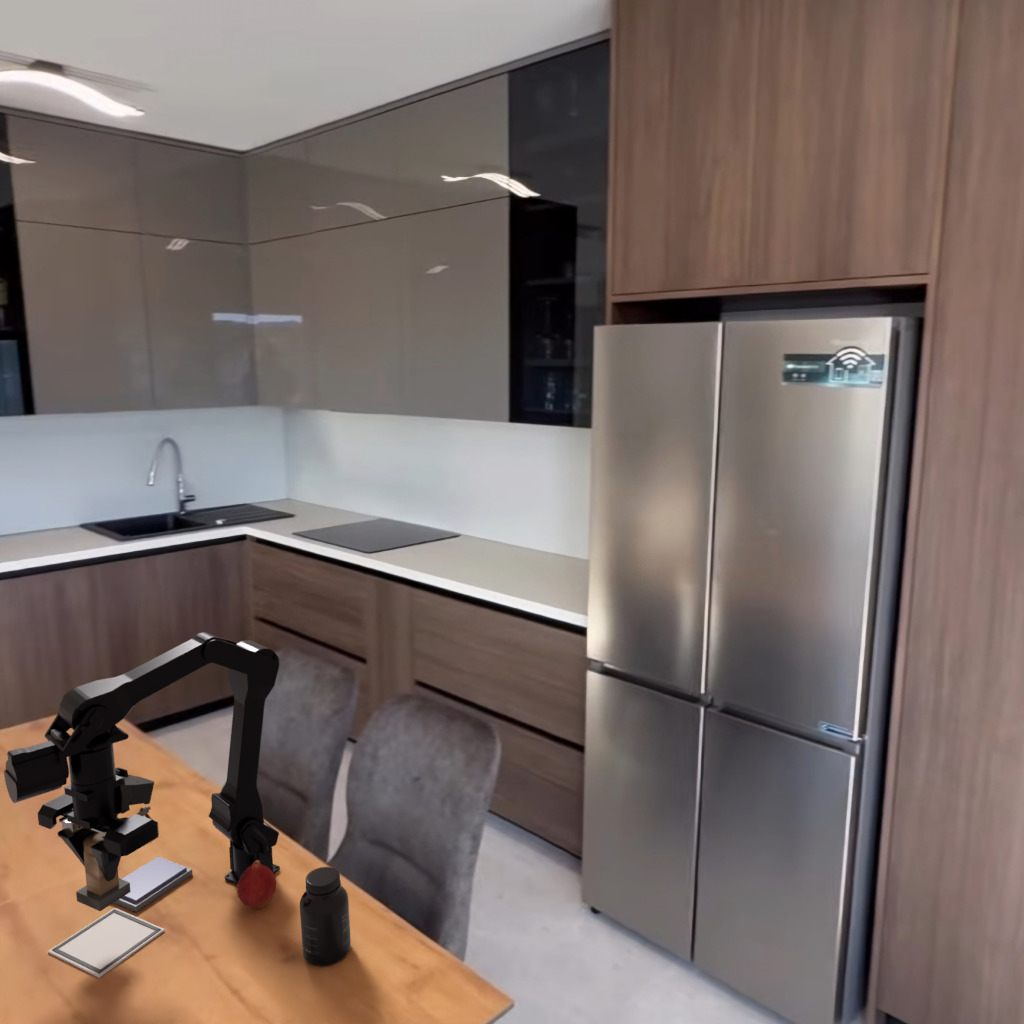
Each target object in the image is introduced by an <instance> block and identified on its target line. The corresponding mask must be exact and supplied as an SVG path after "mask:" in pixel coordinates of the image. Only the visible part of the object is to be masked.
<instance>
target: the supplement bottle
mask: <svg viewBox="0 0 1024 1024" xmlns="http://www.w3.org/2000/svg"><path fill="white" fill-rule="evenodd" d="M340 874H341V873H340V871H339V870H338V869H337V868H334V867H331V866H322V867H321V866H320V867H316V868H315V869H313V870H311V871H310V872H308V873H307V875H306V877H305V891H304V893H303V894H302V896H301V897H300V900H299V913H300V931H301V945H302V946H301V947H302V954H303V958H304V959H305V961H306V962H308V964H310V965H312V966H315V967H329V966H333V965H335V964H337V963H339V962H341V961H342V960H344V959H345V958H346V956H347V955H348V954H349V952H350V950H351V947H352V945H351V943H352V942H351V926H350V922H351V921H350V905H349V904H350V903H349V895H348V894H349V893H348V892H347V890H346V889H345V888H344V886H342V883H341V876H340Z"/></svg>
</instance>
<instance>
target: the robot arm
mask: <svg viewBox="0 0 1024 1024" xmlns="http://www.w3.org/2000/svg"><path fill="white" fill-rule="evenodd" d="M210 664H215V665H219V666H221V667H225V668H227V674H228V675H227V676H228V680H229V684H230V687H231V691H232V694H233V699H234V700H233V709H232V720H231V721H232V722H231V731H230V741H229V751H228V763H227V770H226V771H227V773H226V782H225V785H224V786H223V787H222V789H221V790H220V792H219V793H218V792H215V793H212V794H211V798H210V799H211V808H210V812H209V813H208V818H209V819H211V820H212V822H211V823H212V825H213V827H214V828H216V829H217V830H218V831H219V832H221V834H222V835H224V836H225V837H226V838H227V839H229V845H230V846H229V847H228V850H229V866H230V870H231V871H229V872H228V873H227V874H225V875H224V880H225V881H228V882H231V883H232V884H233V883H234V884H236V885H238V881H239V878H240V877H241V875H242V874H243V872H244V871H245V870H246V869H247V868H248V867H249V866H251V865H252V864H253V863H254V862H255V861H256V860H259V861H260V864H262V865H265V866H267V867H268V868H269V869H270V870H271V871H272V872H273V873H274V875H275V874H276V873H278V872H280V870H281V867H280V865H278V864H275V863H274V861H273V858H274V857H273V847H275V846H276V845H277V842H278V838H279V835H280V832H279V831H277V830H276V829H275V828H274V827H272V826H271V825H270V824H269V823H267V822H266V821H265V816H264V805H263V800H262V798H261V795H260V792H259V789H258V779H259V768H260V758H261V747H262V736H263V728H264V727H263V725H264V715H265V705H266V700H267V698H268V696H269V695H270V694H271V692H272V690H273V688H274V687H275V686H276V681H277V677H278V674H279V669H280V657H279V655H278V654H277V653H276V652H275V651H274V650H272V649H271V648H269V647H267V646H264V645H261V644H259V643H258V642H256V641H253V640H250V639H246V640H240V641H239V642H237V641H234V640H233V641H232V640H230V639H226V638H223V637H220V636H216V635H213V634H212V633H210V632H207V631H205V632H204V631H203V632H199V633H197V634H195V635H194V636H193V637H192V638H190V639H189V640H186V641H185V642H183V643H181V644H179V645H177V646H176V647H173V648H172V649H170V650H168V651H166V652H164V653H162V654H160V655H157V656H156V657H154V658H153V659H151V660H149V661H146V662H144V663H142V664H141V665H138V666H136V667H134V668H132V669H131V670H129V671H127V672H125V673H122V674H121V675H117V676H115V677H108V678H102V679H97V680H94V681H90V682H88V683H85V684H82V685H79V686H76V687H74V688H72V689H70V690H69V691H67V692H66V693H65V694H64V695H63V696H62V699H61V702H60V704H59V708H58V710H59V711H58V712H57V714H56V716H55V718H54V719H53V721H52V722H51V724H50V726H49V727H48V729H47V731H46V732H45V733H44V738H45V739H46V740H47V741H45V742H41V743H37V744H34V745H31V746H27V747H21V748H19V747H18V748H15V749H12V750H9V751H7V760H6V761H5V770H3V775H4V782H5V786H6V787H5V788H6V791H7V793H8V796H9V799H10V800H11V802H12V803H13V804H16V803H18V802H23V801H26V800H28V799H31V798H35V797H37V796H41V795H44V794H47V793H49V792H53V791H56V790H60V789H61V788H62V787H63V786H65V785H67V780H68V778H69V777H70V779H69V780H70V784H69V785H67V786H65V787H63V788H64V789H63V790H64V793H63V794H62V795H59V796H58V797H55V798H54V799H51V800H49V801H48V802H45V803H43V804H42V805H41V807H40V808H39V811H38V812H37V821H38V826H40V827H44V828H46V829H49V830H51V829H53V828H55V827H56V825H57V824H58V822H59V823H61V829H60V830H59V831H58V832H57V837H59V838H61V840H62V841H63V842H64V844H65V845H67V847H68V848H69V849H70V850H71V851H72V853H73V854H74V855H75V857H77V859H78V860H79V862H80V863H81V864H82V865H83V867H84V868H85V863H84V845H83V841H84V840H85V839H86V838H87V837H88V836H90V835H92V834H94V833H101V834H104V836H103V837H102V841H100V842H98V843H96V844H95V845H93V846H91V850H92V852H93V854H94V856H95V858H96V860H97V862H98V865H99V867H100V869H101V871H102V873H103V875H104V877H105V879H106V880H107V881H111V880H112V879H114V878H115V875H116V872H117V869H118V870H119V865H120V862H121V858H122V857H126V856H129V855H130V854H132V853H134V852H135V851H137V850H139V849H141V848H142V847H145V846H146V845H147V844H149V843H151V842H152V841H154V840H156V839H158V838H159V834H160V831H159V822H158V821H156V820H154V819H153V818H152V819H153V820H152V819H149V818H146V817H145V816H141V815H138V814H137V813H135V814H133V816H132V815H131V816H129V817H121V818H120V817H118V815H119V814H122V815H123V814H125V813H127V812H129V811H130V810H131V808H130V806H135V805H142V804H143V805H150V804H151V800H152V795H153V790H154V785H155V781H154V780H151V779H148V778H145V777H141V776H137V775H132V774H129V772H128V770H127V769H126V768H123V767H116V763H115V761H116V760H115V751H114V744H116V743H118V742H122V741H125V740H127V739H129V734H128V733H127V732H126V731H125V730H123V729H122V728H120V727H119V726H117V724H118V723H120V722H121V721H123V720H124V719H125V718H126V717H127V715H128V714H129V713H130V712H131V710H132V709H133V708H134V707H135V706H136V705H138V704H139V703H140V702H142V701H144V700H146V699H147V698H149V697H151V696H153V695H155V694H157V693H159V692H160V691H162V690H164V689H166V688H168V687H170V686H172V685H173V684H175V683H177V682H178V681H180V680H183V679H185V678H186V677H188V676H190V675H192V674H193V673H195V672H197V671H199V670H201V669H202V668H204V667H206V666H208V665H210ZM71 729H72V731H73V732H72V733H71V735H70V733H68V731H69V730H71ZM59 817H60V818H59ZM57 818H59V819H57ZM57 820H58V822H57Z"/></svg>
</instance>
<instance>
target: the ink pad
mask: <svg viewBox="0 0 1024 1024" xmlns="http://www.w3.org/2000/svg"><path fill="white" fill-rule="evenodd" d="M191 876H193V869H192V868H190V867H187V866H185V865H182V864H180V863H176V862H174V861H172V860H169V859H165V858H163V857H161V856H156V857H155V858H153V859H152V860H150V861H148V862H147V863H144V865H141V866H140V867H139V868H137V869H135V870H134V871H132V872H131V873H129V874H127V875H125V876H123V877H122V878H121V879H122V880H125V881H127V882H130V893H128V894H126V895H125V896H123V897H122V898H120V899H119V900H117V901H116V902H114V903H113V904H115V903H117V904H116V905H118V904H119V905H118V906H120V905H121V906H120V907H122V906H123V908H125V909H127V908H128V909H127V910H129V909H130V910H129V911H132V912H134V911H135V913H137V912H139V911H140V910H142V909H143V908H145V907H147V906H148V905H150V904H151V903H152V902H154V901H156V900H157V899H159V898H160V897H161V896H163V895H165V894H166V893H167V892H169V891H170V890H172V889H174V888H175V887H176V886H178V885H179V884H181V883H183V882H184V881H185V880H187V879H188V878H190V877H191ZM159 896H160V897H159ZM153 900H154V901H153ZM150 902H151V903H150ZM147 904H148V905H147ZM144 906H145V907H144ZM141 908H142V909H141Z"/></svg>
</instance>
